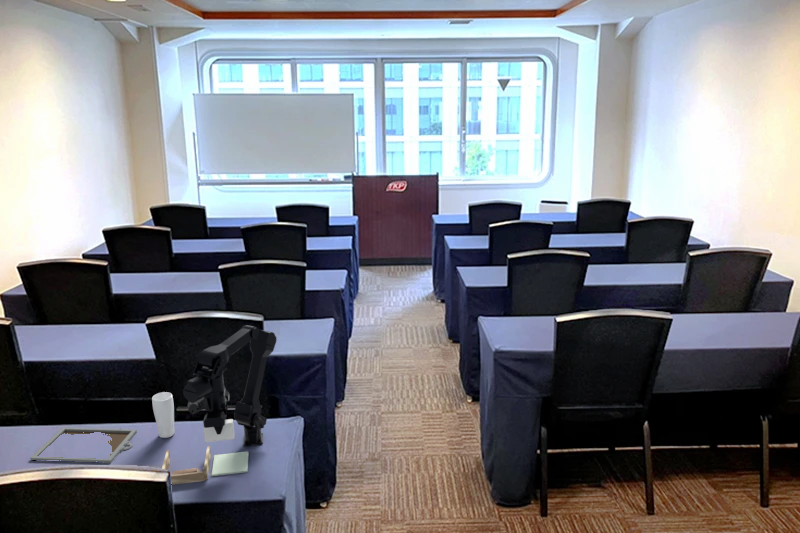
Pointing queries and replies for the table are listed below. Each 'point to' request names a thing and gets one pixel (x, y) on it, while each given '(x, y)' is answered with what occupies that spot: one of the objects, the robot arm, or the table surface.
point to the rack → (189, 476)
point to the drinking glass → (164, 413)
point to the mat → (230, 463)
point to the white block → (225, 434)
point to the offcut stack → (185, 471)
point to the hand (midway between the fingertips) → (219, 431)
